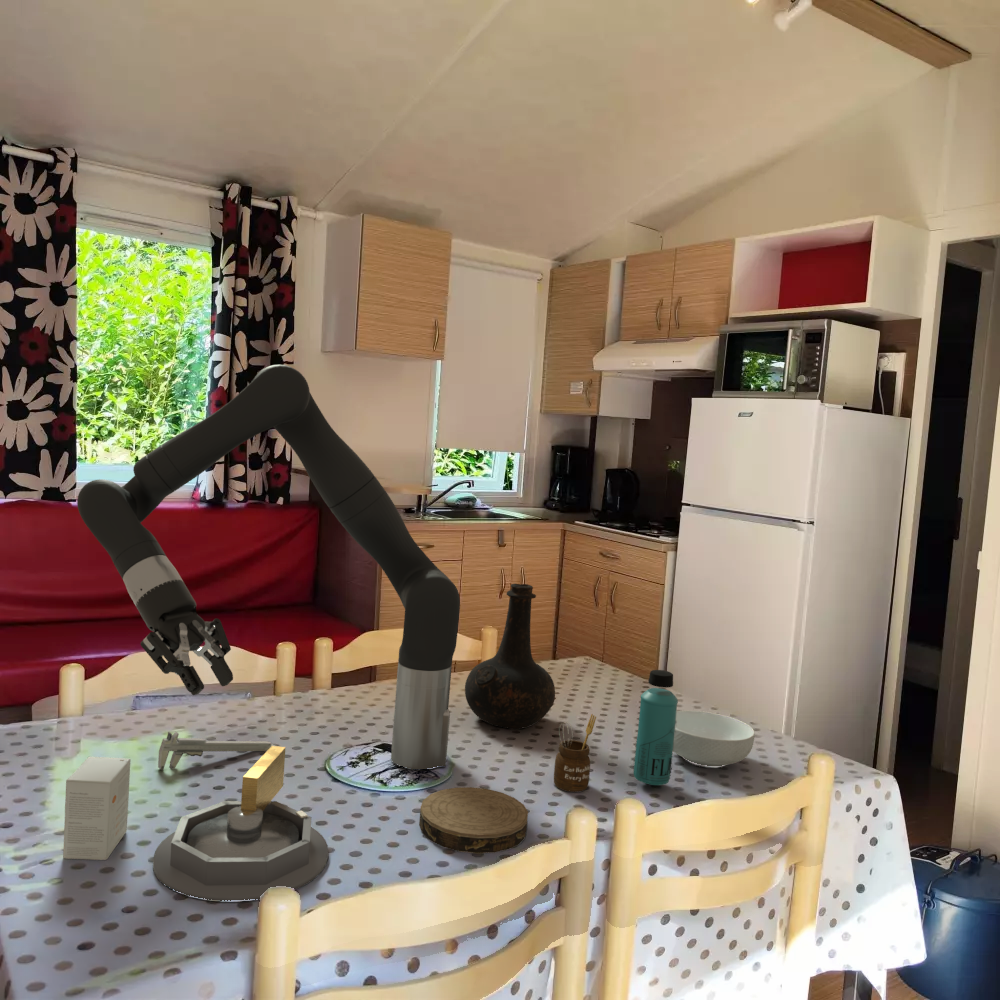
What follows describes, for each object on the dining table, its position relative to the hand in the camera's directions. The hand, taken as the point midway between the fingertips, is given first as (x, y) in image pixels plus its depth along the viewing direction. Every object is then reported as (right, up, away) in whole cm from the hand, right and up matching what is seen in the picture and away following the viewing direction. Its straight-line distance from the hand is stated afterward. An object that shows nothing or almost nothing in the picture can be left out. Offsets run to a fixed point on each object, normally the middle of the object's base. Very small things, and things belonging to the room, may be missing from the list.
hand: (213, 686), depth 130 cm
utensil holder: (+54, -21, +20) cm, 61 cm away
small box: (-11, -18, -13) cm, 25 cm away
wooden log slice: (+38, -21, +2) cm, 43 cm away
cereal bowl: (+80, -22, +37) cm, 91 cm away
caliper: (-5, -16, +19) cm, 25 cm away
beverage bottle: (+67, -22, +23) cm, 74 cm away
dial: (+8, -18, -10) cm, 22 cm away
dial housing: (+8, -20, -13) cm, 25 cm away
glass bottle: (+43, -17, +49) cm, 68 cm away
